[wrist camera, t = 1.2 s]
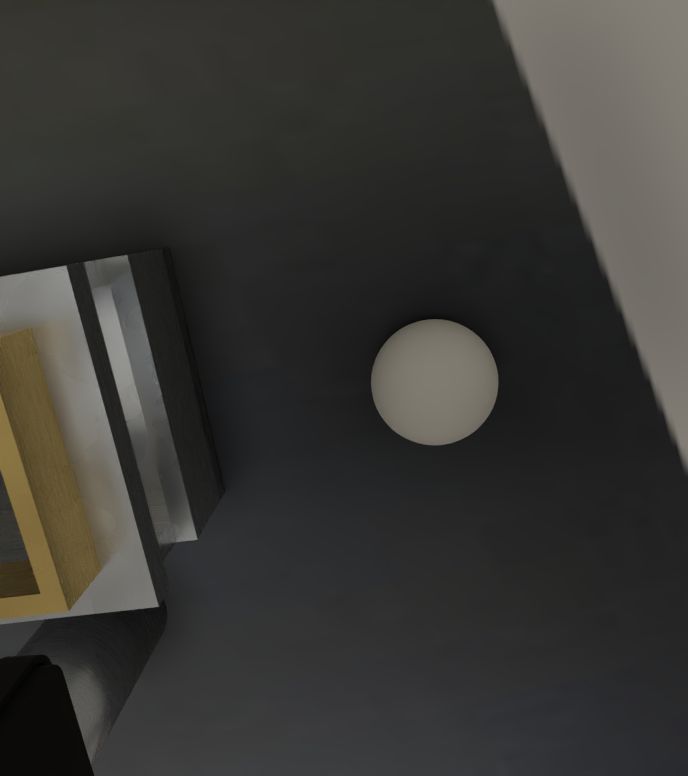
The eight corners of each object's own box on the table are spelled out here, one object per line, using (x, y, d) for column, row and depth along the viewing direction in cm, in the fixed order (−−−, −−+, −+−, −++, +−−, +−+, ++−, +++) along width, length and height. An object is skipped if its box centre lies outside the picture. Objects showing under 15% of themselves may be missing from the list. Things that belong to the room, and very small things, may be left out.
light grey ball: (481, 301, 24) (501, 321, 20) (493, 413, 25) (515, 455, 21) (364, 319, 24) (359, 343, 20) (381, 428, 25) (380, 472, 21)
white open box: (168, 247, 24) (23, 273, 14) (224, 491, 27) (132, 652, 17) (-77, 289, 25) (-365, 339, 15) (0, 520, 28) (-207, 686, 18)
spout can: (153, 561, 28) (9, 779, 17) (176, 648, 29) (54, 902, 18) (57, 572, 28) (-141, 791, 18) (84, 657, 29) (-87, 911, 19)
